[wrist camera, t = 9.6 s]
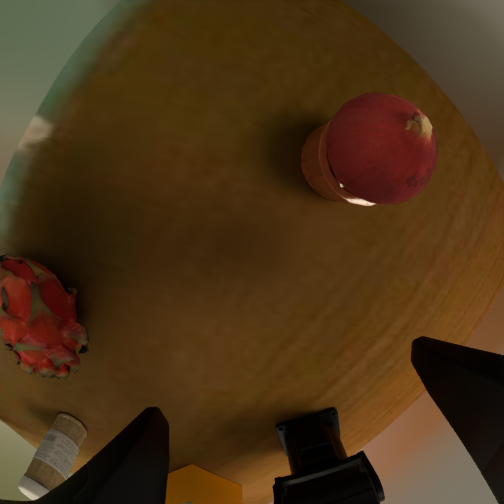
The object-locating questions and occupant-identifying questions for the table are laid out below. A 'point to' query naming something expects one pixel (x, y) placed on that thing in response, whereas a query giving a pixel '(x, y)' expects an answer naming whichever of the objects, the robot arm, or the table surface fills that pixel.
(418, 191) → the onion
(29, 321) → the dragon fruit
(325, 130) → the cup
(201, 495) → the orange juice
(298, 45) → the table surface
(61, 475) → the sprinkles bottle
